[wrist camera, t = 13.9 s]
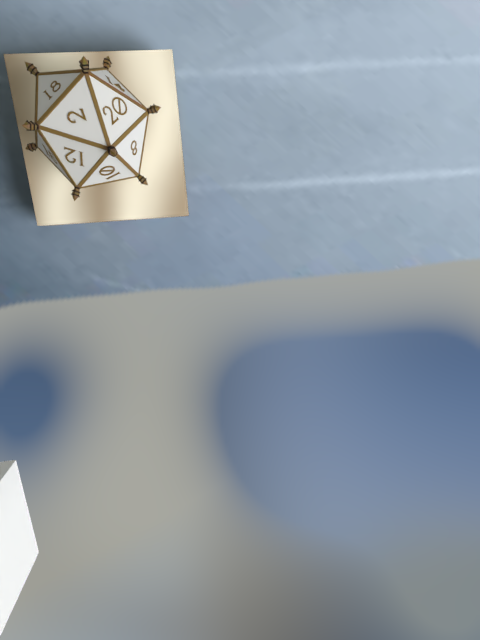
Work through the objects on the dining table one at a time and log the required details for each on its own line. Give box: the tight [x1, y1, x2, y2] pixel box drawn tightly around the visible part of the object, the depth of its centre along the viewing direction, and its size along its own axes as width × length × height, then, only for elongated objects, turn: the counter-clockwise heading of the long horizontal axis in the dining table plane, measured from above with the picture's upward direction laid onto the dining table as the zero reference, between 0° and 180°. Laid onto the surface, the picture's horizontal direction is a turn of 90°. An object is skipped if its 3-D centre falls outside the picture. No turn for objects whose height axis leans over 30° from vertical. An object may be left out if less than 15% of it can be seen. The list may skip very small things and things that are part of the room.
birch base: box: [4, 50, 189, 226], centre depth 32 cm, size 12×12×4 cm
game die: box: [22, 56, 161, 201], centre depth 26 cm, size 9×8×10 cm
